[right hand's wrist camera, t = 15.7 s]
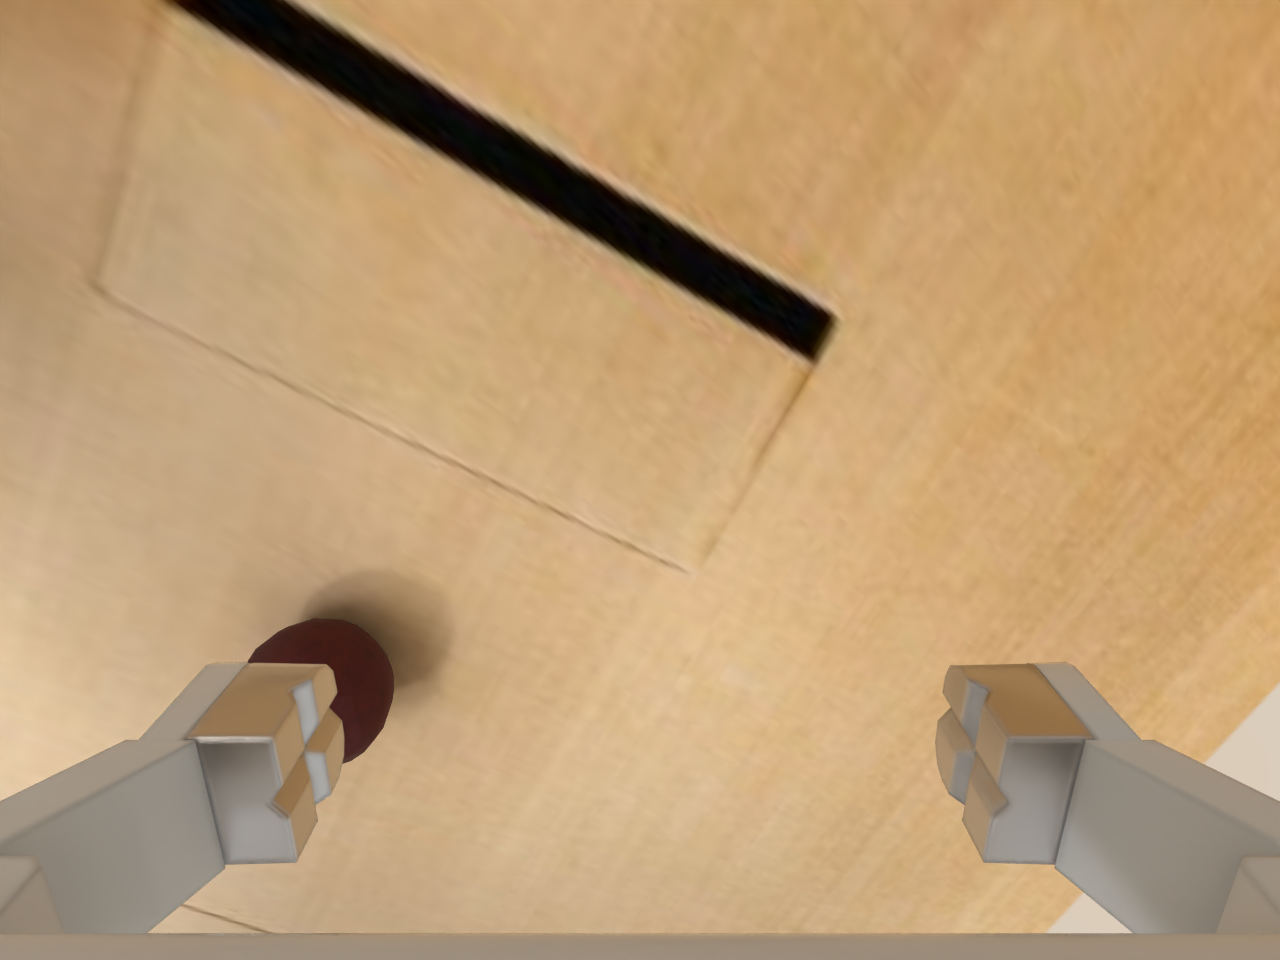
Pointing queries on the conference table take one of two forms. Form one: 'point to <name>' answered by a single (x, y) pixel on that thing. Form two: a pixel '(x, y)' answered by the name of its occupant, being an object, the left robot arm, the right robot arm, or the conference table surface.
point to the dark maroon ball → (340, 673)
